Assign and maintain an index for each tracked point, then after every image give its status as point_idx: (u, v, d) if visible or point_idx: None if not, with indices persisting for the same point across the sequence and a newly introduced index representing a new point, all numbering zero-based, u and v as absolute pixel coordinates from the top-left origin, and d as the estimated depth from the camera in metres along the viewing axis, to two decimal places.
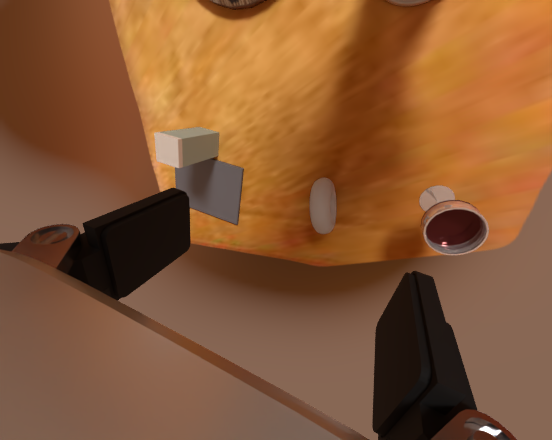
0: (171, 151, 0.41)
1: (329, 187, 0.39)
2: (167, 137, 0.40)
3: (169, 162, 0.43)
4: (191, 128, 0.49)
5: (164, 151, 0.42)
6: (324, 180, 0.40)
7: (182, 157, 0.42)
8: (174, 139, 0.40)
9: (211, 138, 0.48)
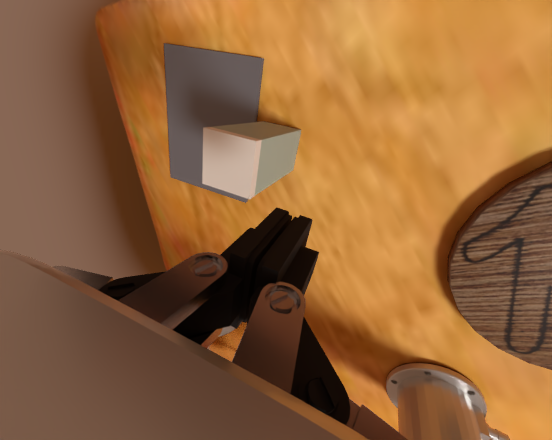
0: (227, 176, 0.21)
1: None
2: (250, 174, 0.20)
3: (207, 163, 0.21)
4: (293, 134, 0.26)
5: (224, 158, 0.20)
6: None
7: None
8: (248, 191, 0.21)
9: None
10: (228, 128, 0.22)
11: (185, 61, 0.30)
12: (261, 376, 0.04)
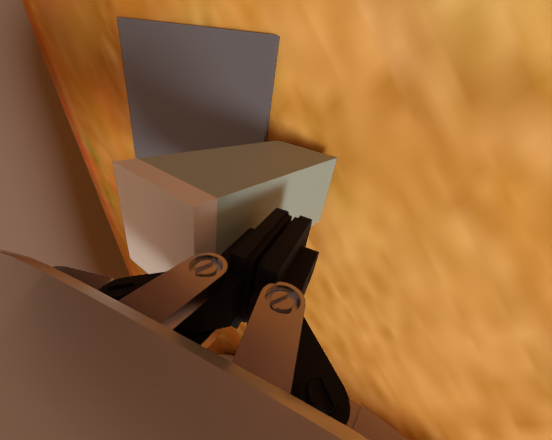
0: (158, 259, 0.10)
1: None
2: None
3: (129, 228, 0.11)
4: (318, 168, 0.15)
5: (150, 227, 0.10)
6: None
7: None
8: None
9: None
10: (177, 161, 0.11)
11: (151, 45, 0.19)
12: (261, 376, 0.04)
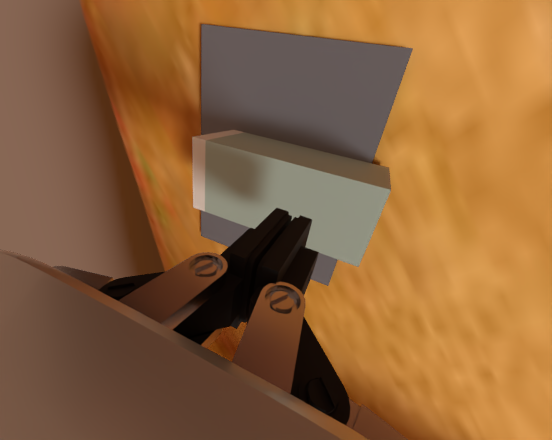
0: None
1: None
2: None
3: None
4: (332, 180, 0.13)
5: None
6: None
7: None
8: None
9: None
10: (252, 137, 0.18)
11: (241, 57, 0.17)
12: (261, 376, 0.04)
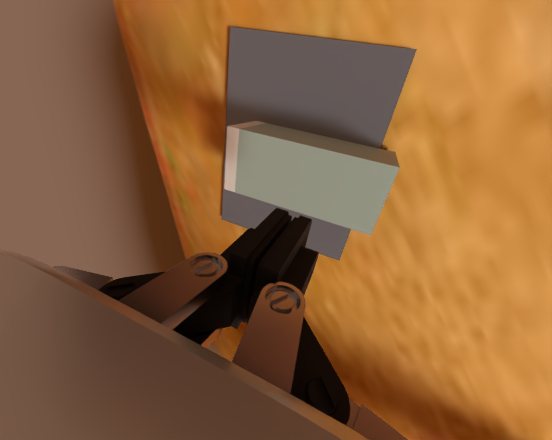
0: None
1: None
2: None
3: None
4: (350, 161, 0.15)
5: None
6: None
7: None
8: None
9: None
10: (275, 127, 0.20)
11: (266, 55, 0.19)
12: (261, 376, 0.04)
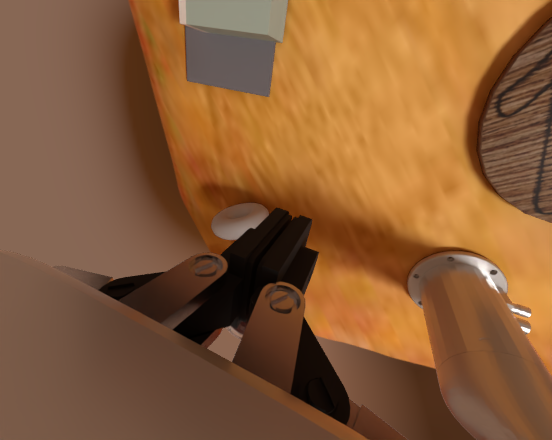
0: None
1: None
2: (179, 0, 0.29)
3: None
4: None
5: None
6: None
7: (202, 30, 0.32)
8: (180, 16, 0.30)
9: (250, 33, 0.28)
10: None
11: None
12: (261, 376, 0.04)
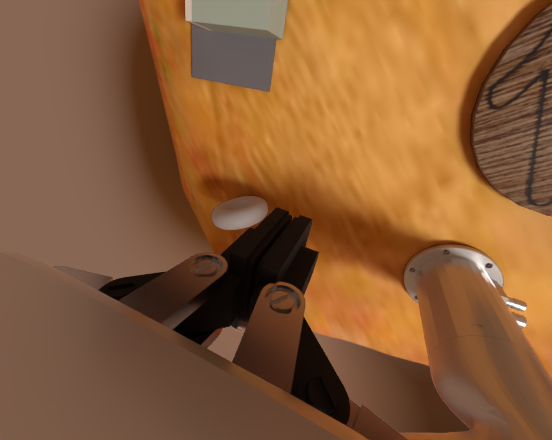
0: None
1: None
2: None
3: None
4: None
5: None
6: (263, 216, 0.39)
7: (206, 27, 0.34)
8: (186, 14, 0.31)
9: (251, 29, 0.30)
10: None
11: None
12: (261, 376, 0.04)
